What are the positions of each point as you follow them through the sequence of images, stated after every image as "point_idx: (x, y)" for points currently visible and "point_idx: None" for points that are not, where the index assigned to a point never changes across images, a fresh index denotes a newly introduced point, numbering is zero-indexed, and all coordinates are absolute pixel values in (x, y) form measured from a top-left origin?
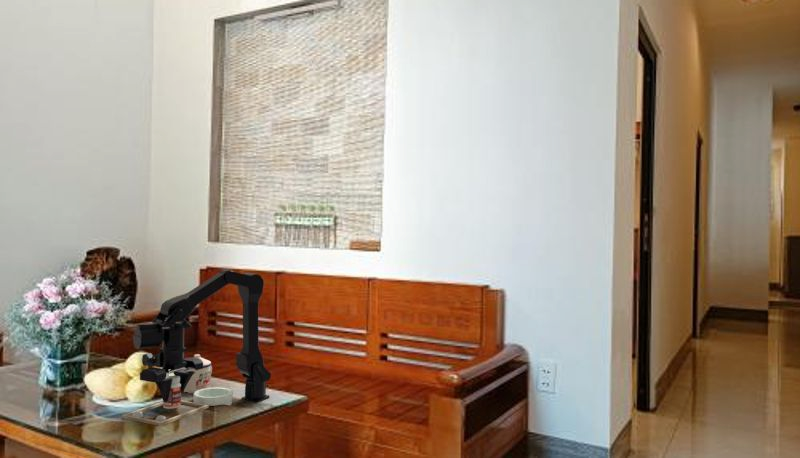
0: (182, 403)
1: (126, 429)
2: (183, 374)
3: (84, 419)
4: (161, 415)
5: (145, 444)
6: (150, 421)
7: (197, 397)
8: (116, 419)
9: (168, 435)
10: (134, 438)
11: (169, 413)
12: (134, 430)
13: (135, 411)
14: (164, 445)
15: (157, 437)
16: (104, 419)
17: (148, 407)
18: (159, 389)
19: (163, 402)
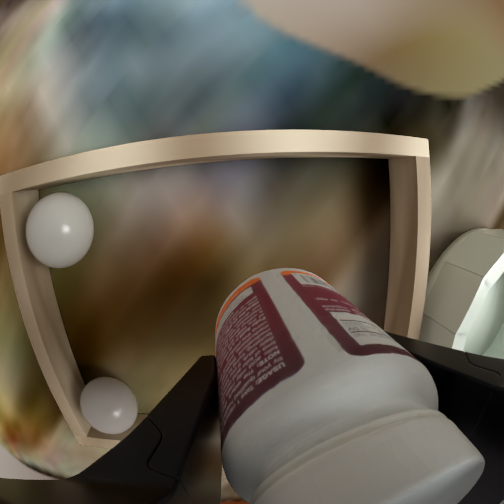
0: (408, 251)
1: (2, 282)
2: (490, 497)
3: (17, 7)
4: (106, 423)
5: (22, 440)
6: (54, 394)
7: (449, 339)
8: (52, 91)
9: (97, 457)
10: (3, 386)
11: (296, 249)
12: (19, 324)
13: (33, 226)
14: (62, 478)
15: (62, 440)
16: (34, 53)
17: (190, 157)
18: (139, 432)
19: (220, 327)
